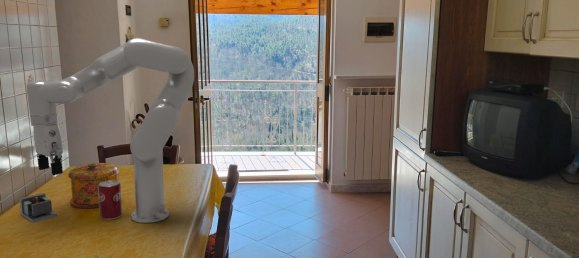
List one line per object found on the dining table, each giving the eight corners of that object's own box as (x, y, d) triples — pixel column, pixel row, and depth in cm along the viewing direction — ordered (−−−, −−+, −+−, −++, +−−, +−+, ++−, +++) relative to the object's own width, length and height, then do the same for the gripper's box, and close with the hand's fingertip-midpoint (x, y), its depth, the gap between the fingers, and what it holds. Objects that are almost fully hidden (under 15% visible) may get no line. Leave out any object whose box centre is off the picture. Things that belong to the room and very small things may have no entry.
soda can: (98, 221, 154) (96, 187, 151) (101, 213, 160) (99, 180, 158) (121, 219, 155) (119, 185, 153) (123, 211, 162) (121, 179, 160)
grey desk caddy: (57, 215, 158) (56, 199, 156) (32, 222, 151) (31, 205, 150) (44, 208, 164) (43, 192, 163) (20, 215, 158) (19, 198, 157)
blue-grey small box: (52, 211, 158) (51, 198, 157) (33, 216, 153) (32, 202, 152) (45, 208, 161) (44, 195, 160) (27, 212, 156) (26, 199, 155)
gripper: (68, 120, 142) (74, 173, 145) (44, 115, 153) (50, 164, 156) (43, 124, 136) (50, 179, 140) (20, 118, 147) (27, 169, 151)
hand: (50, 171), depth 148 cm, fingers open, 9 cm apart
